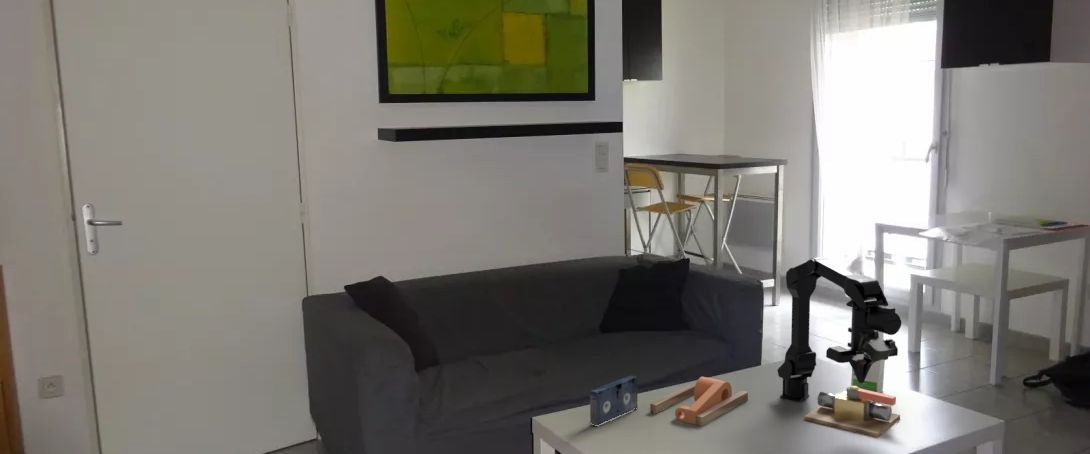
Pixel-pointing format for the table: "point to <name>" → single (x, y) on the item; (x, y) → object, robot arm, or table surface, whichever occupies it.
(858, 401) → the valve
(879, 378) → the skincare box
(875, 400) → the lever
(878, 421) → the board
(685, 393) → the pair of wooden rails
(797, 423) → the table surface
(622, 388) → the vhs cassette tape
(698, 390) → the crank
